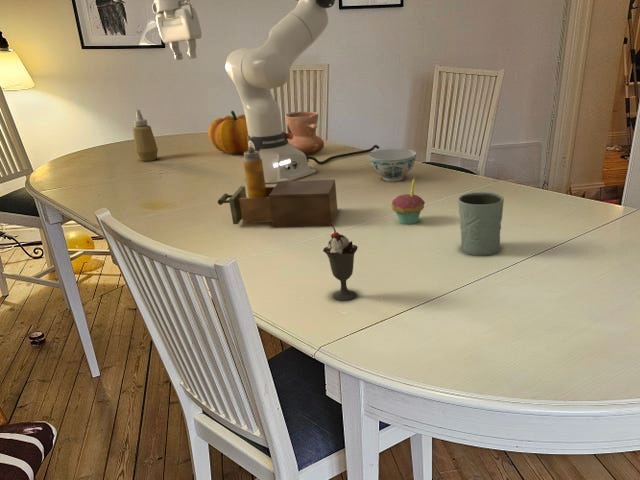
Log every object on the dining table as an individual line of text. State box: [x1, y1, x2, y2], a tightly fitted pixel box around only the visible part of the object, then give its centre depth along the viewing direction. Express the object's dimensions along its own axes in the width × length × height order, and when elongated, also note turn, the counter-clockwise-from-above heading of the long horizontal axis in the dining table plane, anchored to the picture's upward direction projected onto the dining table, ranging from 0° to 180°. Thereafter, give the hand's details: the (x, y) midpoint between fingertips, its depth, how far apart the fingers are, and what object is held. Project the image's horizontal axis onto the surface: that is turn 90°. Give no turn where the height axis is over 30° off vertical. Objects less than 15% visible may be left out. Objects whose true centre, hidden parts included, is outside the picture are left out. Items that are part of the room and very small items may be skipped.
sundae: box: [322, 223, 358, 302], centre depth 127 cm, size 7×7×15 cm
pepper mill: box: [243, 147, 267, 198], centre depth 172 cm, size 5×5×17 cm
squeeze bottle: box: [132, 109, 159, 162], centre depth 244 cm, size 8×8×18 cm
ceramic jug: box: [284, 111, 325, 156], centre depth 242 cm, size 18×14×14 cm
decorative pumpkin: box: [207, 110, 249, 155], centre depth 250 cm, size 20×22×15 cm
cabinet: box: [269, 179, 338, 228], centre depth 174 cm, size 16×14×9 cm
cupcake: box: [391, 175, 426, 225], centre depth 167 cm, size 9×8×12 cm
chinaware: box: [368, 148, 417, 182], centre depth 206 cm, size 15×15×8 cm
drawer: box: [217, 185, 275, 225], centre depth 175 cm, size 19×12×7 cm, turn 87°
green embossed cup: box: [457, 191, 505, 257], centre depth 147 cm, size 10×10×12 cm
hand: (185, 59), depth 182 cm, fingers open, 8 cm apart
